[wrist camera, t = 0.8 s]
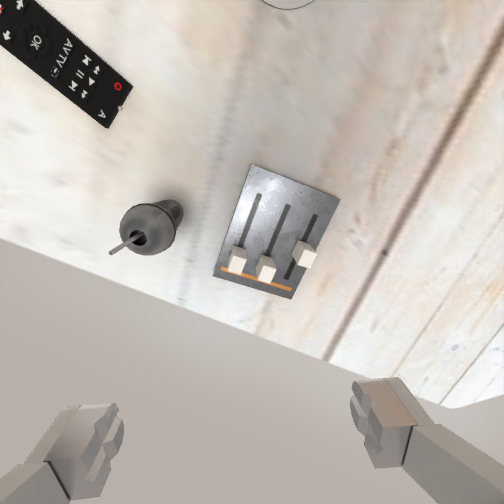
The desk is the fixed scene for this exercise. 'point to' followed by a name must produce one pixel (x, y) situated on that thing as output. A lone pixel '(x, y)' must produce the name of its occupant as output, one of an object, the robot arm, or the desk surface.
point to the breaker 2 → (265, 269)
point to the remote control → (62, 59)
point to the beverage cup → (150, 227)
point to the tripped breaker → (304, 254)
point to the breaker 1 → (237, 260)
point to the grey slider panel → (274, 229)
